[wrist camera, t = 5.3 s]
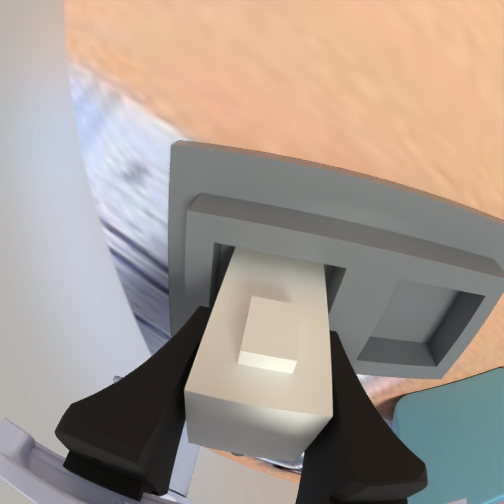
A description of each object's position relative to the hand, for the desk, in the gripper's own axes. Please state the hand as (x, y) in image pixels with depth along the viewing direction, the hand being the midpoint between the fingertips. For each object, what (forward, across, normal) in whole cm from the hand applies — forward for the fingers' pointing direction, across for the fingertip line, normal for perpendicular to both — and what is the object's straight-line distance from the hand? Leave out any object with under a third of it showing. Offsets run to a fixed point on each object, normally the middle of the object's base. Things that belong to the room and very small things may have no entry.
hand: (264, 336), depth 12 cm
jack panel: (+5, -4, 0) cm, 6 cm away
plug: (+4, 0, +1) cm, 4 cm away
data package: (+5, -18, +10) cm, 22 cm away
